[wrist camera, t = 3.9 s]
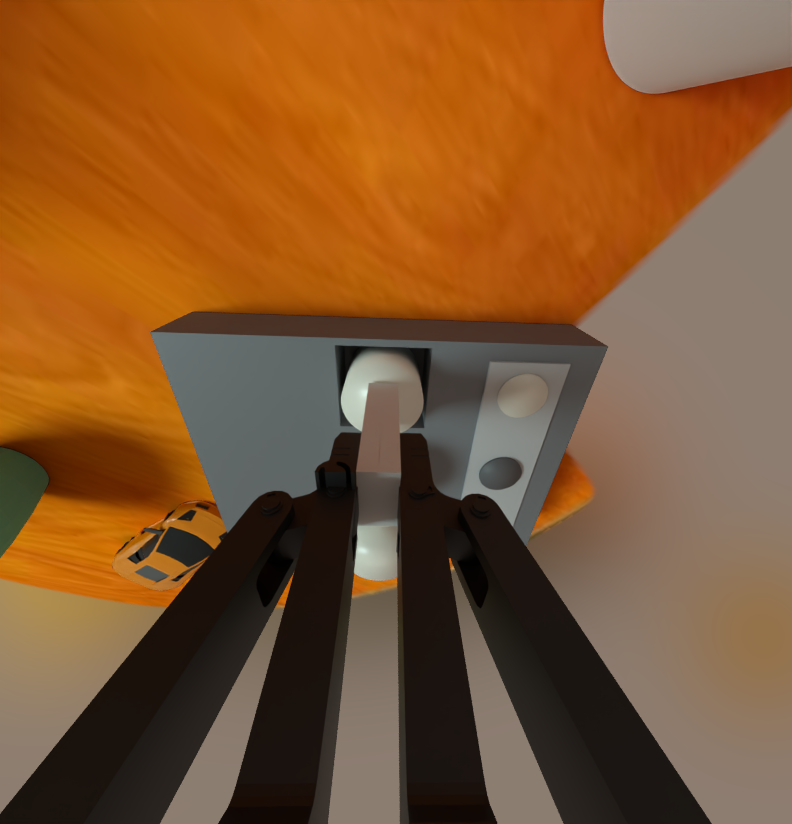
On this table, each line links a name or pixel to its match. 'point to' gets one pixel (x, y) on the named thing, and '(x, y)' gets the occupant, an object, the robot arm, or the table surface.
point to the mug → (18, 493)
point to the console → (324, 420)
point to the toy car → (172, 547)
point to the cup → (695, 41)
